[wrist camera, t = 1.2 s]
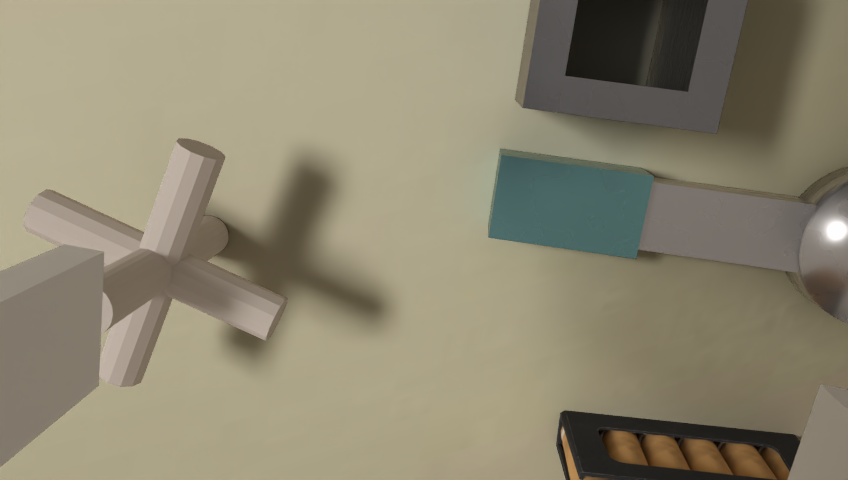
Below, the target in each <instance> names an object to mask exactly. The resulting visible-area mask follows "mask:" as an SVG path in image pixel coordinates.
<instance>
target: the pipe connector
mask: <svg viewBox="0 0 848 480" xmlns="http://www.w3.org/2000/svg"><path fill="white" fill-rule="evenodd" d="M224 160H225V156H224V155H223V153H222V152H220V151H219V150H217V149H215V148H213V147H211V146H209V145H206V144H204V143H201V142H199V141H195V140H190V139H178V140H177V141H176V143H175V146H174V149H173V152H172V155H171V158H170V161H169V163H168V166H167V169H166V172H165V175H164V178H163V180H162V183H161V186H160V189H159V192H158V195H157V198H156V200H155V203H154V206H153V209H152V212H151V215H150V218H149V220H148V223H147V226H146V229H145V232H142V231H140V230H138V229H135V228H133V227H131V226H129V225H127V224H125V223H122V222H120V221H118V220H116V219H114V218H112V217H109V216H107V215H105V214H103V213H101V212H99V211H96V210H94V209H92V208H90V207H88V206H86V205H83V204H81V203H79V202H77V201H75V200H72V199H70V198H68V197H66V196H64V195H62V194H59V193H57V192H55V191H53V190H45V191H43V192H41V193H40V194H38V195H37V196H36V197H35V199H34V200H33V201H32V202H31V203H30V205H29V207H28V209H27V211H26V213H25V215H24V225H23V226H24V227H25V229H26V231H27V232H29V233H32V234H34V235H36V236H38V237H40V238H42V239H45V240H47V241H49V242H51V243H53V244H56V245H58V246H62V245H64V244H66V245H71V246H77V247H82V248H88V249H93V250H98V251H104V274H103V298H102V322H101V333H103V332H105V331H106V330H108V329H109V328H111V329H110V331H109V334H108V337H107V340H106V343H105V346H104V349H103V351H102V354H101V357H100V370H99V377H100V378H101V379H103V380H104V381H106V382H107V383H109V384H113V385H116V386H120V387H126V386H134V385H136V384H139V383H141V381H142V378H143V376H144V373H145V371H146V368H147V365H148V363H149V360H150V357H151V355H152V352H153V349H154V347H155V344H156V341H157V339H158V336H159V333H160V331H161V328H162V325H163V323H164V320H165V317H166V315H167V312H168V309H169V307H170V304H171V301H172V299H175V300H178V301H180V302H182V303H184V304H186V305H189V306H191V307H193V308H195V309H197V310H199V311H202V312H204V313H206V314H208V315H210V316H213V317H215V318H217V319H219V320H221V321H223V322H226V323H228V324H230V325H232V326H234V327H237V328H239V329H241V330H243V331H245V332H247V333H250V334H252V335H254V336H256V337H258V338H261V339H263V340H265V341H266V340H268V339H269V337H270V336H271V334H272V333H273V331H274V329H275V327H276V325H277V324H278V322H279V320H280V317H281V315H282V313H283V311H284V308H285V306H286V303H287V298H285V297H283V296H281V295H279V294H277V293H274V292H272V291H270V290H268V289H266V288H264V287H261V286H259V285H257V284H255V283H253V282H251V281H248V280H246V279H244V278H242V277H240V276H237V275H235V274H233V273H231V272H229V271H227V270H224V269H222V268H220V267H218V266H216V265H214V264H211V263H209V262H207V261H208V260H209V259H211V258H212V257H213V256H215V255H216V254H218V253H219V252H221V251H222V250H223V249H224V248H225V247H226V245H227V243H228V239H229V236H228V230H227V228H226V226H225V224H224V223H223V222H222V221H221V220H219V219H218V218H216V217H213V216H204V213H205V210H206V208H207V205H208V202H209V200H210V197H211V194H212V192H213V189H214V186H215V184H216V181H217V178H218V176H219V173H220V170H221V168H222V165H223V162H224Z"/></svg>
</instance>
